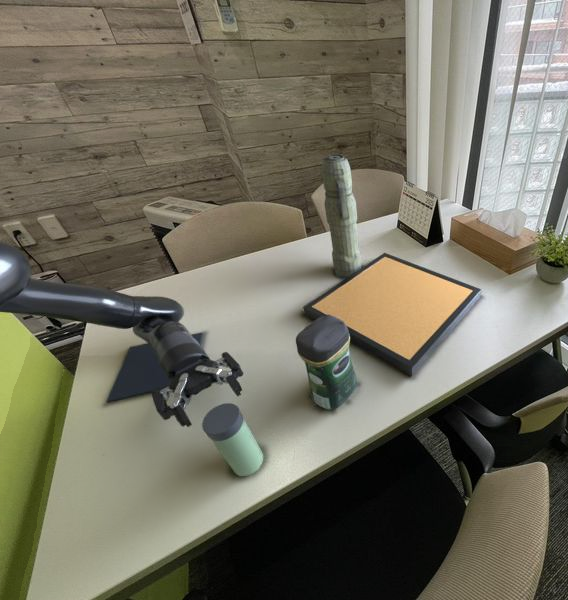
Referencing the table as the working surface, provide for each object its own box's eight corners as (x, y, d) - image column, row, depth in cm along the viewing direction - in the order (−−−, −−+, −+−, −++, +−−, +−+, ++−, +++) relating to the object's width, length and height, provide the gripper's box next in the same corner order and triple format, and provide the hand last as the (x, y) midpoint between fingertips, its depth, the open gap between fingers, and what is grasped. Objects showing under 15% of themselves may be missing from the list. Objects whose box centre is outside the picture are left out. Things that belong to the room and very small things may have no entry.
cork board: (411, 376, 72) (480, 297, 94) (412, 368, 70) (481, 289, 92) (304, 314, 88) (384, 259, 111) (302, 306, 87) (384, 252, 109)
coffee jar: (336, 368, 74) (323, 305, 62) (363, 383, 71) (355, 320, 59) (304, 398, 68) (284, 335, 56) (333, 417, 64) (317, 354, 53)
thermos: (342, 283, 100) (325, 165, 78) (329, 265, 108) (311, 153, 86) (368, 275, 103) (359, 160, 81) (354, 258, 111) (342, 149, 89)
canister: (231, 481, 55) (199, 439, 46) (233, 452, 59) (204, 408, 50) (263, 471, 56) (238, 428, 47) (263, 443, 60) (240, 399, 51)
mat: (107, 403, 67) (106, 401, 67) (131, 348, 79) (129, 347, 78) (193, 382, 71) (192, 381, 70) (203, 333, 83) (202, 332, 82)
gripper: (132, 365, 59) (158, 422, 50) (212, 327, 67) (247, 370, 58) (152, 390, 64) (179, 446, 55) (224, 351, 72) (258, 395, 63)
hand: (214, 407), depth 57 cm, fingers open, 8 cm apart
